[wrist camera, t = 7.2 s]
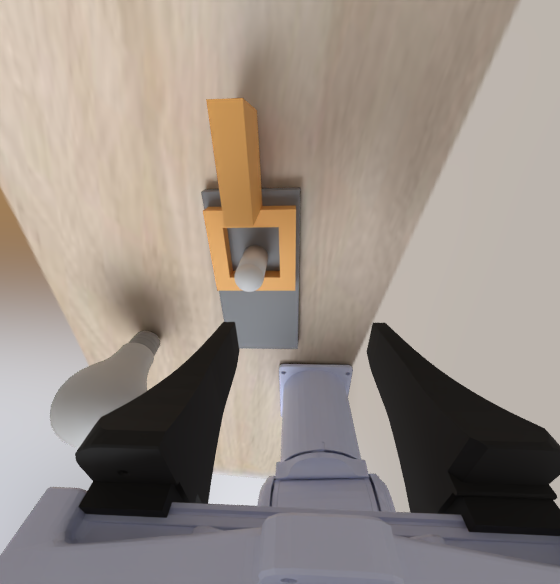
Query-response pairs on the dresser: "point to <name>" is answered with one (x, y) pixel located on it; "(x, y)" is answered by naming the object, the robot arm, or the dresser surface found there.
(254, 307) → the keeper board
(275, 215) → the orange loop handle block
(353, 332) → the dresser surface
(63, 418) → the lightbulb
